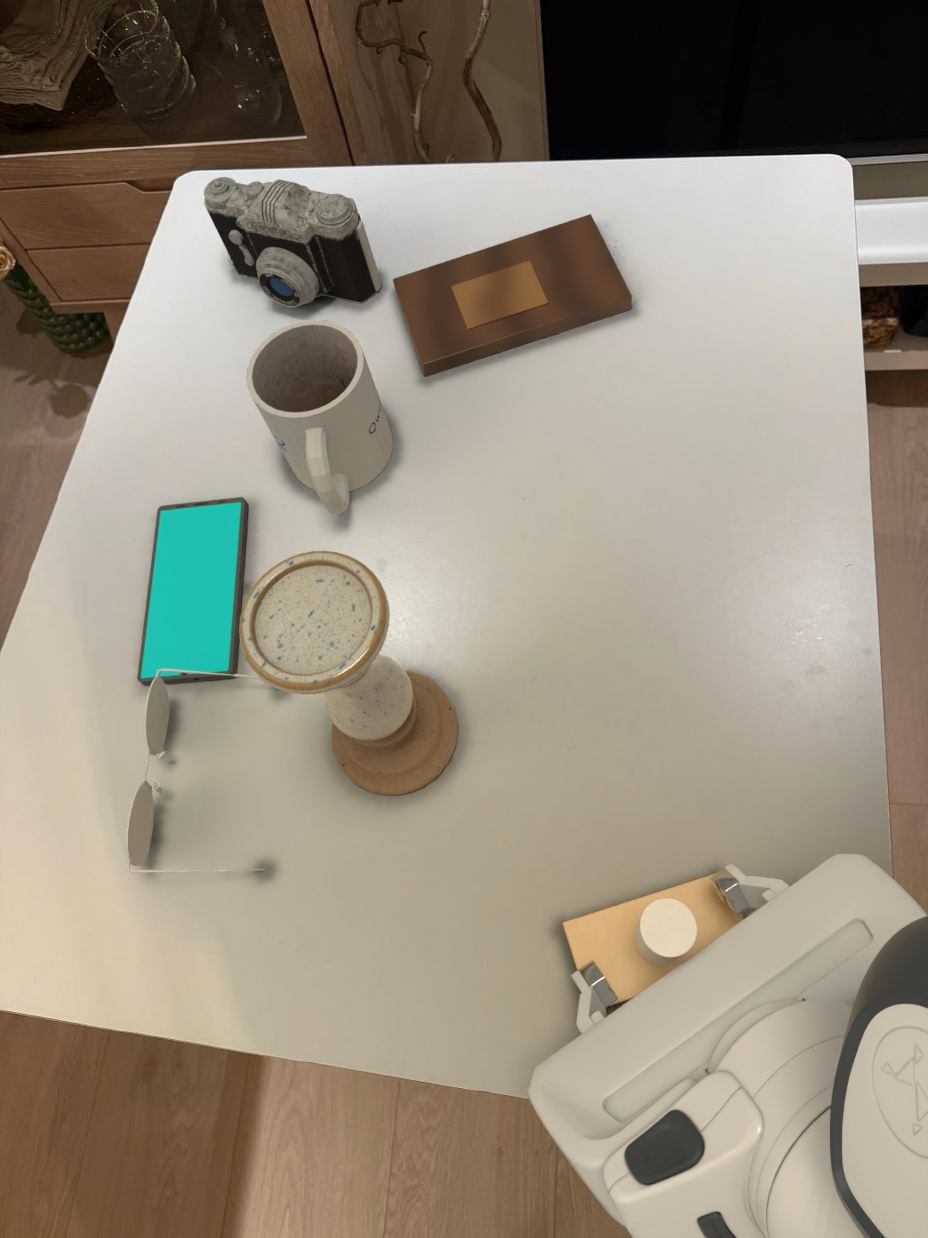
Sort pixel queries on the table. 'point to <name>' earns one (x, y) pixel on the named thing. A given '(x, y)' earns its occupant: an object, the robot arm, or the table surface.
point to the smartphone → (194, 591)
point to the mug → (321, 408)
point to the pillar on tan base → (649, 934)
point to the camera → (294, 240)
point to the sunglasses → (143, 799)
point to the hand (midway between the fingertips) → (655, 926)
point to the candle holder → (348, 669)
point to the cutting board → (511, 294)
